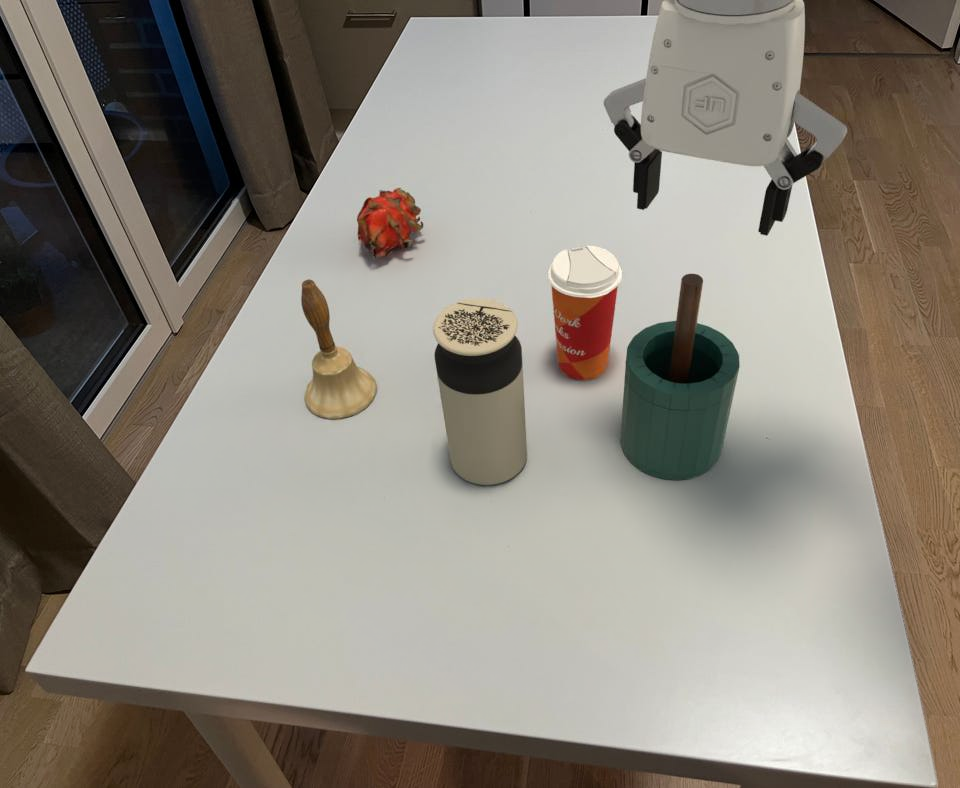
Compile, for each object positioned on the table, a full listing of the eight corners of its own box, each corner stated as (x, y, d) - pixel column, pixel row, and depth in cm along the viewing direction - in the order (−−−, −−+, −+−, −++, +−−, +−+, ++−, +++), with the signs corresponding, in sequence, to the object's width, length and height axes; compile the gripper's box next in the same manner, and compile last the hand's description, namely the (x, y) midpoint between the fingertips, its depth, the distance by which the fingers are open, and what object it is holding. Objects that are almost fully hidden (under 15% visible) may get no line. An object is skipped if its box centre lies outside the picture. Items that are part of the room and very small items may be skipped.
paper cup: (542, 348, 94) (539, 249, 84) (604, 336, 94) (609, 237, 85) (559, 393, 88) (558, 293, 78) (626, 380, 89) (633, 279, 79)
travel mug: (507, 497, 79) (496, 363, 66) (437, 472, 82) (413, 340, 69) (539, 441, 84) (534, 307, 71) (472, 420, 86) (456, 288, 74)
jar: (734, 424, 83) (753, 338, 75) (702, 494, 77) (719, 408, 69) (641, 395, 87) (650, 310, 79) (605, 459, 81) (609, 374, 73)
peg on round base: (698, 429, 82) (725, 271, 68) (684, 458, 79) (709, 300, 65) (657, 415, 84) (676, 259, 70) (642, 444, 81) (658, 287, 67)
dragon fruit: (419, 229, 117) (384, 286, 110) (370, 196, 115) (331, 252, 108) (442, 197, 110) (406, 256, 103) (390, 160, 108) (350, 218, 101)
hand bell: (372, 418, 88) (344, 305, 77) (299, 421, 88) (260, 309, 77) (380, 366, 94) (355, 254, 82) (311, 369, 94) (277, 259, 83)
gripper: (587, -12, 52) (585, 215, 64) (868, 14, 45) (807, 263, 57) (630, -48, 56) (621, 171, 68) (892, -29, 49) (831, 211, 61)
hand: (706, 213), depth 63 cm, fingers open, 9 cm apart
